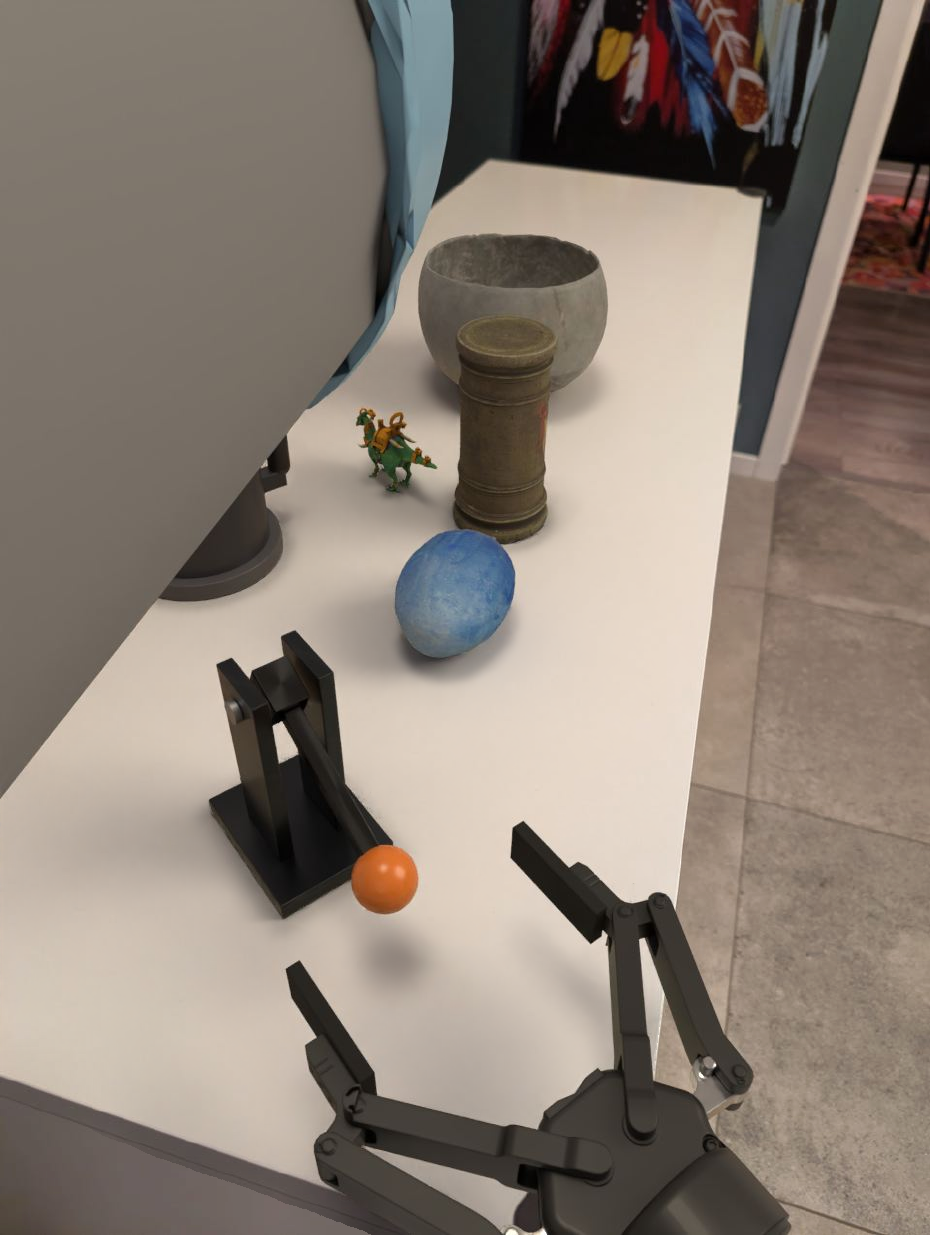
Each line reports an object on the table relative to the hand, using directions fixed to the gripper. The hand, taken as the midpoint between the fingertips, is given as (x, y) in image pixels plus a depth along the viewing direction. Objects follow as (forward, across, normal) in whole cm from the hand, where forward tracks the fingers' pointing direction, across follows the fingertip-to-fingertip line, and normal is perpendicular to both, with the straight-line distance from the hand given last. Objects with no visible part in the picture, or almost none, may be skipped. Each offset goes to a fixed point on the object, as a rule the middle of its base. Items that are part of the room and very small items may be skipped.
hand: (412, 904), depth 49 cm
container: (+34, -33, +9) cm, 48 cm away
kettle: (+45, -8, +9) cm, 47 cm away
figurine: (+44, -28, +9) cm, 53 cm away
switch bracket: (+13, 0, +9) cm, 16 cm away
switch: (+9, 0, 0) cm, 9 cm away
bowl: (+54, -50, +9) cm, 74 cm away
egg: (+24, -21, +9) cm, 33 cm away
